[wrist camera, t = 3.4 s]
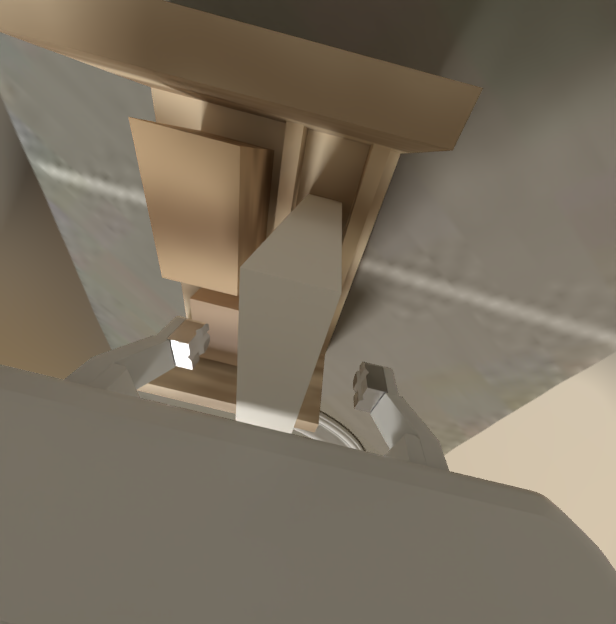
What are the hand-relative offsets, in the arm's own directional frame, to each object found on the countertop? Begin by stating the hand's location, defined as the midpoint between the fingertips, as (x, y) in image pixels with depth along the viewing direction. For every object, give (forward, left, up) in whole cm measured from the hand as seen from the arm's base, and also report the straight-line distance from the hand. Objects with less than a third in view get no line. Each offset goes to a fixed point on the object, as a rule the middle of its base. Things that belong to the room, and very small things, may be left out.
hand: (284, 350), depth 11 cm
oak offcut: (-4, -6, -10) cm, 12 cm away
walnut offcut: (+5, -6, -10) cm, 13 cm away
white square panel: (0, 0, -10) cm, 10 cm away
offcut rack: (0, -4, -11) cm, 12 cm away
